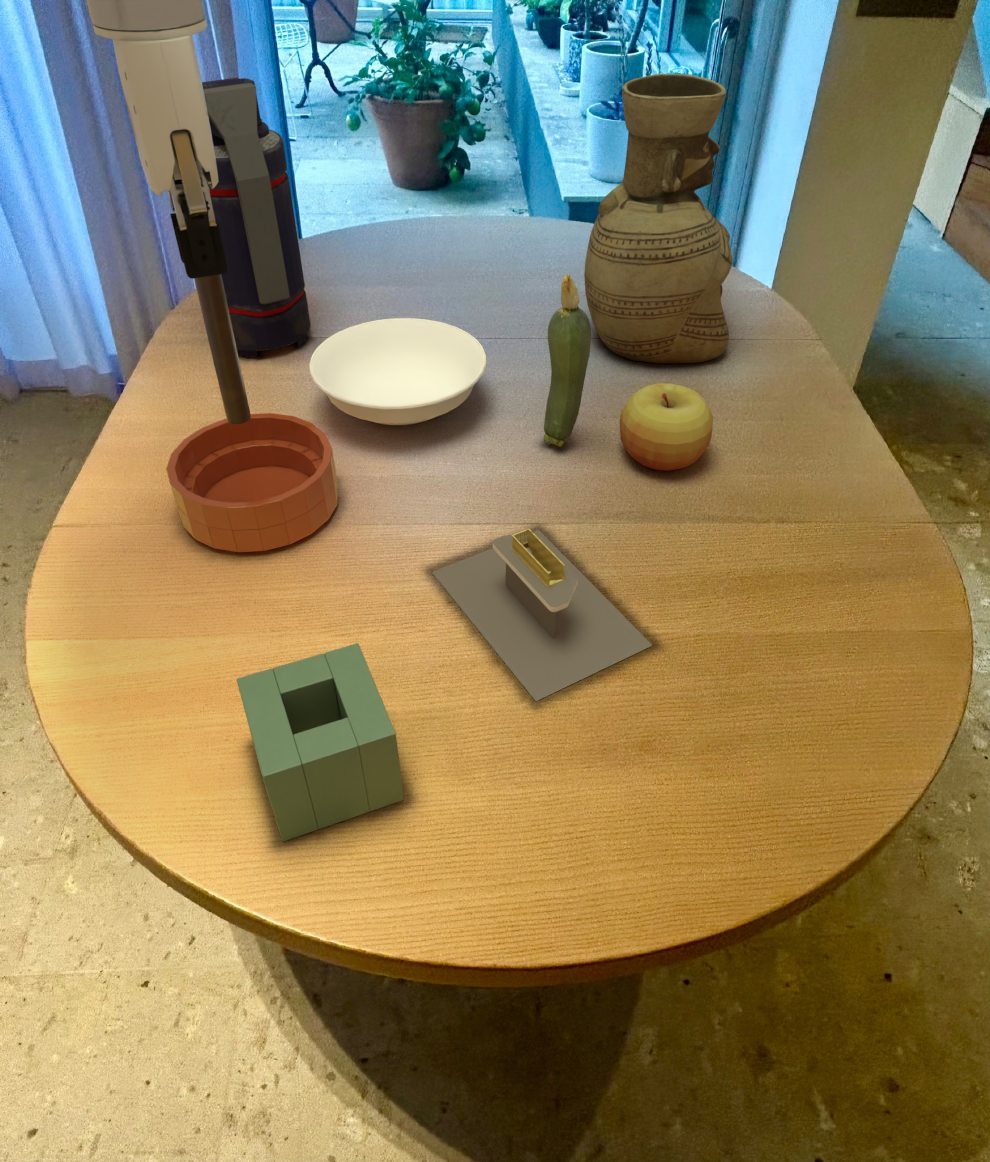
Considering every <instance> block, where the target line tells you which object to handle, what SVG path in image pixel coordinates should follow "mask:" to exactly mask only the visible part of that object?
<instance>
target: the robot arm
mask: <svg viewBox="0 0 990 1162" xmlns="http://www.w3.org/2000/svg"><path fill="white" fill-rule="evenodd" d="M85 2H86V5H87V9H88V12H89V16H90V20H91V24H92V27H93V31H94V34H95V35H96V36H99V37H102V38H104V39H107V40H112V45H113V49H114V55H115V61H116V66H117V70H118V74H119V80H120V83H121V87H122V92H123V96H124V100H125V104H126V108H127V112H128V115H129V120H130V123H131V124H130V125H131V128H132V132H133V135H134V140H135V143H136V148H137V154H138V157H139V161H140V165H141V167H142V171H143V173H144V176H145V179H146V181H147V183H148V187H149V189H150V191H151V192H153V194H155V195H157V196H158V197H159V196H163V192H167V196H168V199H169V200H168V201H169V204H170V208H171V211H172V213H170V219H171V224H172V227H173V232H174V236H175V240H176V244H177V249H178V252H179V257H180V261H181V262H182V264H183V265H184V269H185V274H186V276H187V277H188V278H189V279H191V280H192V279H193V280H194V278H200V277H206V276H213V275H219V274H224V273H226V272H227V264H226V260H225V255H224V250H223V245H222V240H221V235H220V230H219V225H218V222H217V221H215V216H214V211H213V206H212V201H211V197H210V192H209V186H208V184H209V185H210V187H211V189H213V188H214V187H215V186H216V185H217V183H218V172H217V165H216V159H215V152H214V146H213V140H212V134H211V128H210V123H209V117H208V112H207V106H206V101H205V96H204V90H203V85H202V82H203V80H202V75H201V71H200V66H199V60H198V57H197V52H196V47H195V41H194V37H193V35H195V34H199V33H201V32H204V31H205V30H206V29H207V28H208V21H207V13H206V10H205V5H204V4H205V3H204V0H85ZM184 196H185V199H186V200H182V204H181V199H180V197H184Z"/></svg>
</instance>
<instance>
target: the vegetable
mask: <svg viewBox="0 0 990 1162" xmlns="http://www.w3.org/2000/svg"><path fill="white" fill-rule="evenodd" d="M560 304H561V307H560V308H559V309H557V310H556V311H555V312H554V313H553V314H552V316H551V318H550V320H549V323H548V327H547V344H548V350H549V359H550V368H551V369H550V371H551V374H550V384H549V385H550V386H549V391H548V394H547V395H548V396H547V400H546V407H545V414H544V422H543V431H544V433H545V434H544V436H543V441H544V442H545V443H547V445H551V444H552V445H554V446H557V447H560V448H561V447H563V445H564V444H565V442H566V441H567V440H568V439H569V438H570V437H571V435H572V433H573V430H574V427H575V425H576V422H577V419H578V416H579V412H580V407H581V403H582V397H583V390H584V385H585V379H586V374H587V368H588V364H589V359H590V353H591V345H592V344H591V343H592V327H591V322H590V320H589V317H588V314H587V313H586V312H585V310H583V309H582V308H580V307H579V304H580V295H579V291H578V288H577V286H576V284H575V281H574V280H573V278H572V276H571V274H564V275H563V278H562V280H561V283H560Z"/></svg>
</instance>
